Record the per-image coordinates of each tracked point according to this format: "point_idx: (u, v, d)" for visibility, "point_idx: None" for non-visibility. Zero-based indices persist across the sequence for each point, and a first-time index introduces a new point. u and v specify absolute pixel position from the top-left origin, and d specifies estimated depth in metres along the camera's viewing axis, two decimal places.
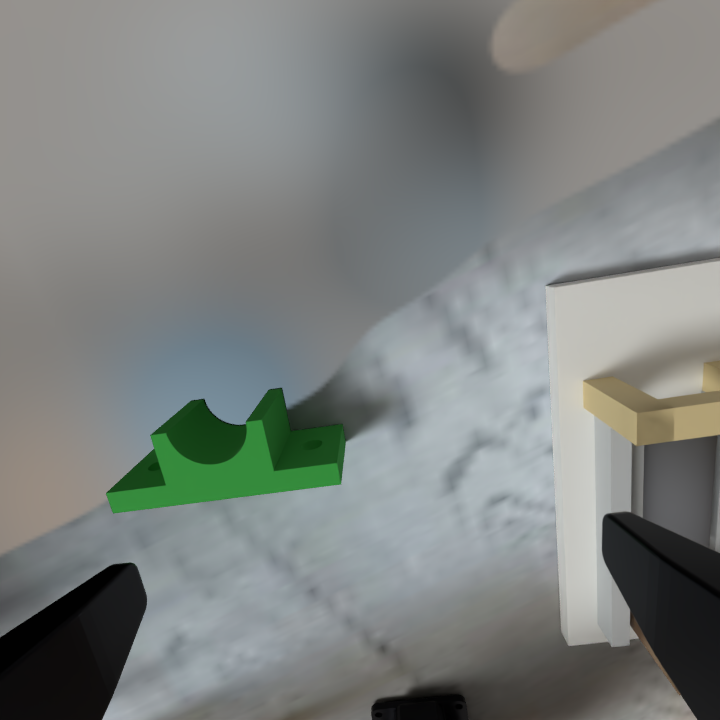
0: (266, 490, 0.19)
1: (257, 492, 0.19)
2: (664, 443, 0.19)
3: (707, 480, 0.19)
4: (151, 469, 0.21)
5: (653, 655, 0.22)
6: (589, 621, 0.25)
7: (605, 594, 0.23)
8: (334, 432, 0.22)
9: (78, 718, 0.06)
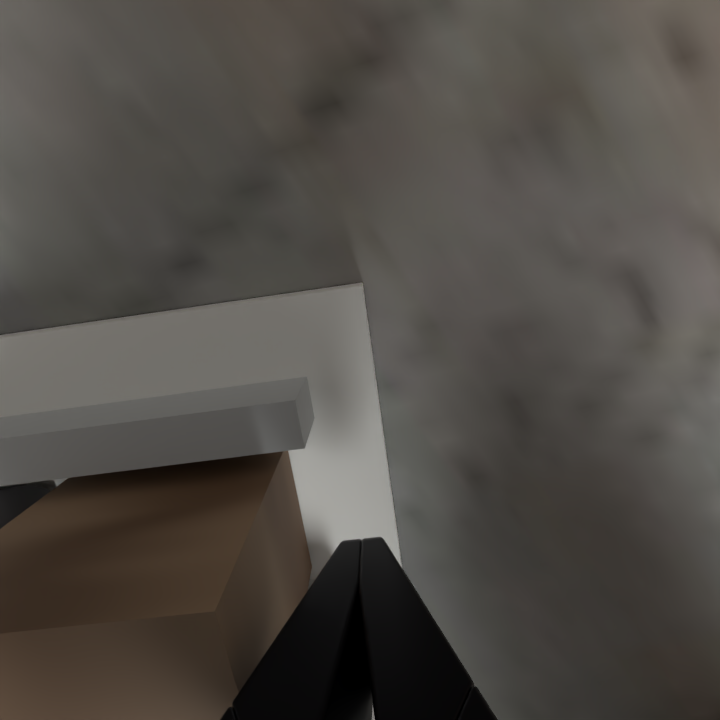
0: None
1: None
2: None
3: None
4: None
5: None
6: None
7: None
8: None
9: (367, 693, 0.06)
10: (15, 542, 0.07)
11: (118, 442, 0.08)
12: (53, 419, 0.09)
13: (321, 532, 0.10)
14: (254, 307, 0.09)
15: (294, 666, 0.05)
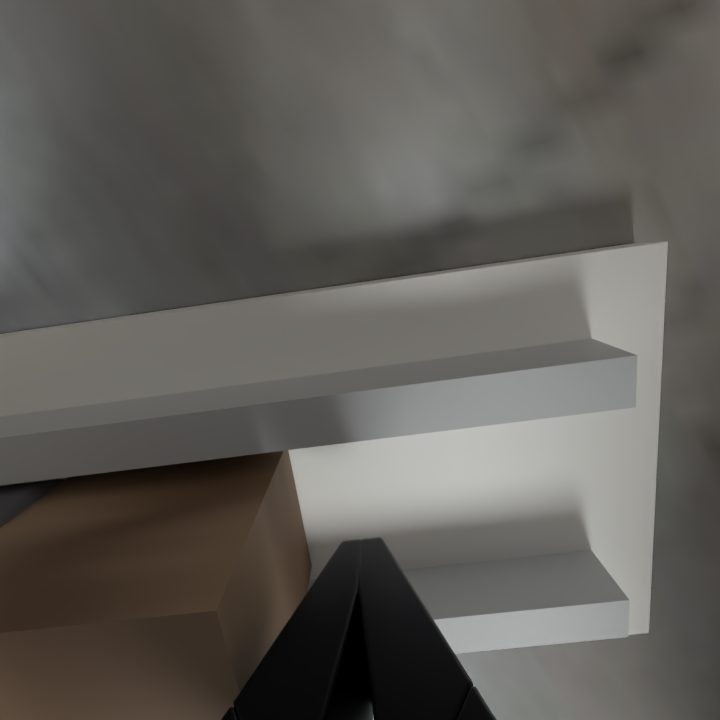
0: None
1: None
2: None
3: None
4: None
5: None
6: None
7: None
8: None
9: (368, 693, 0.06)
10: (15, 542, 0.07)
11: (439, 400, 0.07)
12: (342, 380, 0.08)
13: (576, 503, 0.10)
14: (550, 265, 0.08)
15: (295, 666, 0.05)
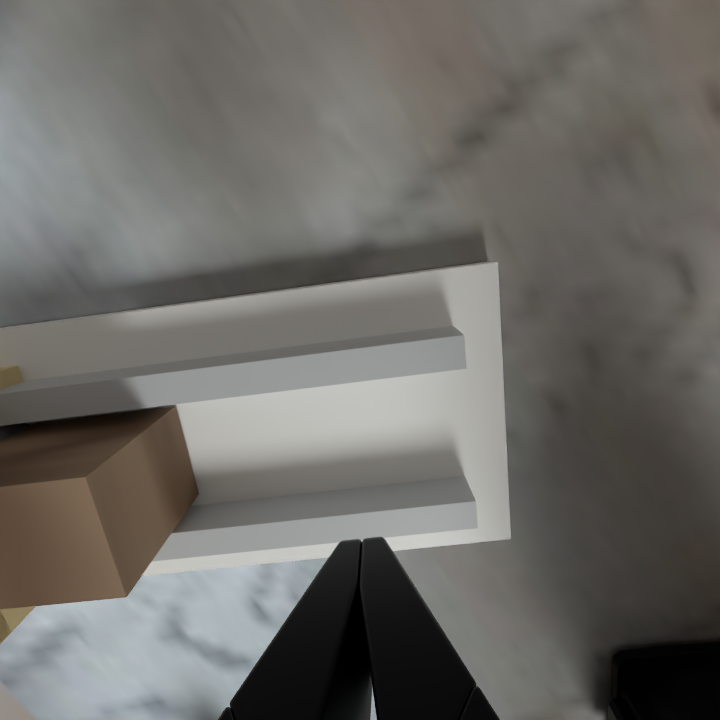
0: None
1: None
2: None
3: None
4: None
5: None
6: None
7: None
8: None
9: (366, 694, 0.06)
10: None
11: (341, 363, 0.12)
12: (283, 352, 0.12)
13: (451, 441, 0.14)
14: (422, 277, 0.12)
15: (292, 666, 0.05)
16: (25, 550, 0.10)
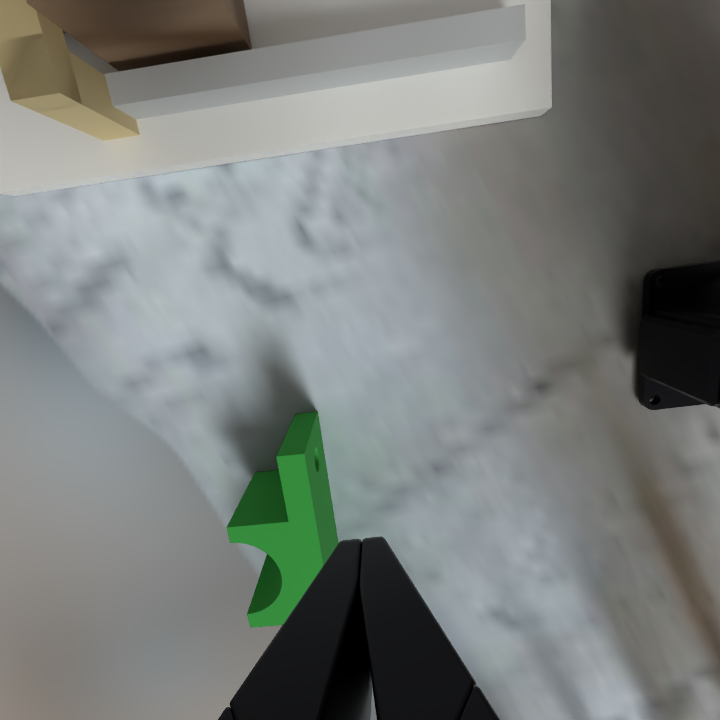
0: (313, 531, 0.17)
1: (315, 540, 0.17)
2: None
3: None
4: None
5: (222, 14, 0.12)
6: (503, 75, 0.15)
7: (429, 62, 0.14)
8: None
9: (366, 694, 0.06)
10: None
11: None
12: None
13: None
14: None
15: (292, 666, 0.05)
16: None
